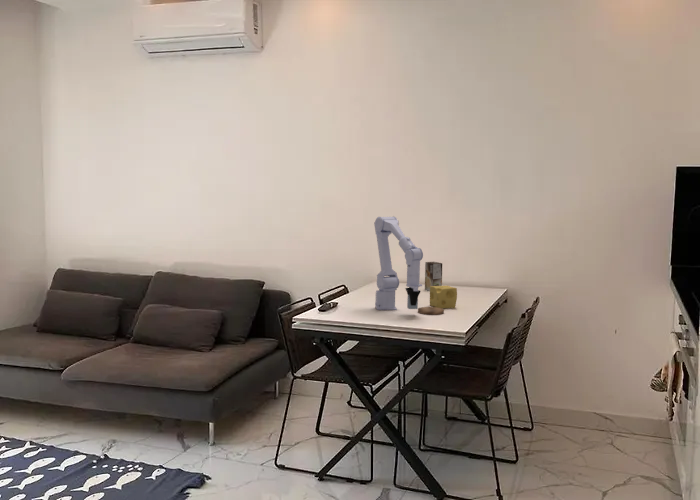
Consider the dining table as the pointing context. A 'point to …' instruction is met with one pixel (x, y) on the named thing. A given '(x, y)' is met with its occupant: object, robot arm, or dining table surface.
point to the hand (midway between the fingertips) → (412, 304)
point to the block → (410, 304)
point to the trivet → (430, 310)
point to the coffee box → (433, 274)
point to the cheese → (443, 296)
